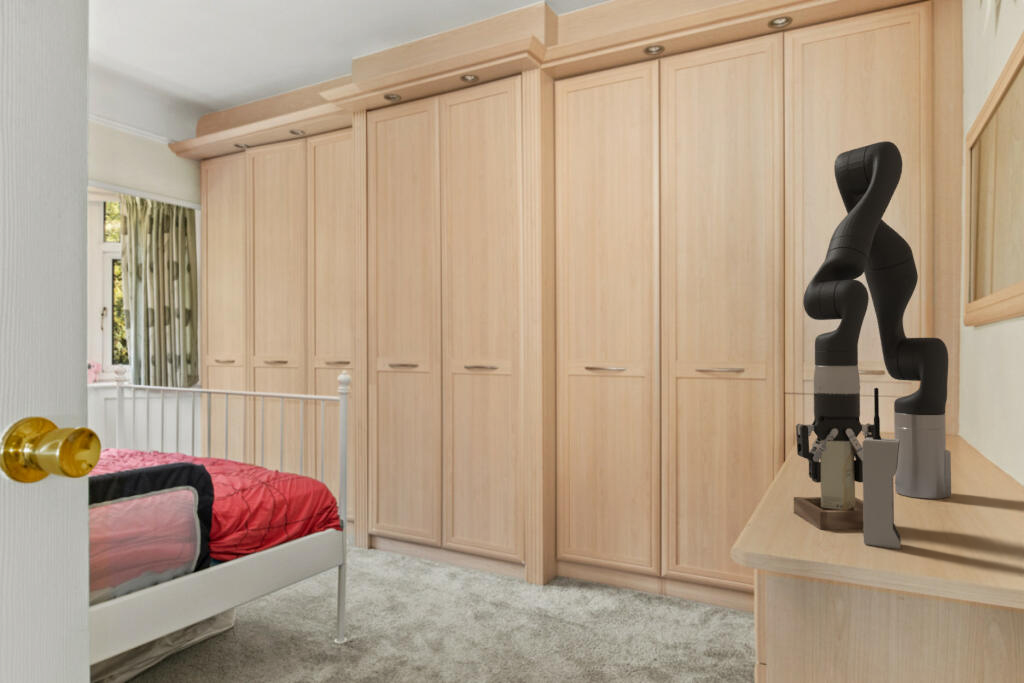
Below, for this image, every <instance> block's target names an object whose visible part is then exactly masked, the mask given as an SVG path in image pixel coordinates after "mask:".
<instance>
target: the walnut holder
mask: <svg viewBox="0 0 1024 683" xmlns="http://www.w3.org/2000/svg"><path fill="white" fill-rule="evenodd" d="M793 514H795V515H796V514H797V517H799V518H802V520H804V521H806V522H808V523H809V524H811V525H812V524H813V525H812V526H814V527H816V528H818V529H819V531H821V530H824V531H825V530H832V531H833V530H834V531H835V530H839V531H840V530H842V531H843V530H848V531H850V530H852V531H853V530H855V531H856V530H858V531H859V530H862V531H864V520H863V500H862V499H860V498H858V497H856V496H855V506H853V507H852V508H850V509H848V510H834V509H828V508H823V507H821V496H793Z"/></svg>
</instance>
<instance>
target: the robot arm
mask: <svg viewBox="0 0 1024 683" xmlns="http://www.w3.org/2000/svg"><path fill="white" fill-rule="evenodd" d="M834 161H835V162H834V166H833V167H834V178H835V182H836V186H837V189H838V191H839V194H840V197H841V200H842V203H843V205H844V208H845V211H846V213H847V214H846V216H844V218H843V219H842V220H841V221H840V222H839V223H838V225H837V226H836V227H835V229H834V231H833V233H832V235H831V238H830V241H829V244H828V248H827V252H826V254H825V259H824V261H823V262H822V264H821V265H820V267H819V268H818V270H817V272H816V273H815V274H814V275H813V277H812V279H811V280H810V281H809V283H808V285H807V286H806V289H805V292H804V295H803V302H802V304H803V309H804V312H805V313H806V315H807V316H808V317H809V318H811V319H813V320H817V321H827V320H829V321H830V320H840V324H839V325H838V327H837V328H836V329H835V330H832V331H829V332H824V333H821V334H819V335H817V336H816V337H815V339H814V372H813V417H814V419H813V422H812V423H810V424H803V423H802V424H801V423H797V424H796V425H795V431H796V451H797V455H798V456H799V457H802V458H804V459H807V460H808V461H807V462H808V476H809V478H810V479H812V480H811V481H812V482H814V483H816V484H817V483H820V484H821V462H820V458H821V456H822V451H826V447H827V445H825V444H827V441H850V443H851V444H852V450H853V451H854V468H855V482H857V483H863V447H862V444H861V443H860V441H859V440H858V436H859V435H860V433H861V432H862V435H863V436H864V439H865V438H866V437H869V438H873V436H874V423H866V424H865V423H864V424H862V423H861V421H860V417H861V396H860V395H861V380H860V373H859V366H858V365H859V357H858V356H859V353H858V351H859V348H858V347H859V340H860V334H861V331H862V330H861V329H862V327H863V322H864V320H865V317H866V313H867V311H868V306H869V302H870V301H869V300H870V297H871V301H872V304H873V309H874V314H875V316H876V322H877V325H878V326H877V328H878V332H879V339H880V345H881V351H882V352H881V353H882V359H883V362H884V363H883V364H884V366H885V369H886V371H887V373H888V375H889V376H890V377H891V378H892V379H894V380H898V381H910V382H912V381H914V382H920V383H919V387H918V389H917V390H916V391H914V392H913V393H911V394H908V395H906V396H901V397H898V398H896V399H895V400H894V403H893V410H894V412H893V416H894V417H893V418H894V422H893V423H894V439H900V442H899V453H898V464H897V470H896V473H895V475H894V477H895V479H894V485H895V486H894V488H895V490H894V491H895V493H897V494H899V495H903V496H906V497H913V498H918V499H919V498H920V499H944V498H952V459H951V458H952V456H951V455H952V453H951V451H950V450H948V449H947V438H946V437H947V436H946V435H947V433H946V432H947V431H946V406H947V400H948V379H949V378H948V376H949V352H948V351H949V350H948V348H947V345H946V343H945V342H944V341H943V340H942V339H941V338H939V337H907V336H906V334H905V328H904V314H905V311H906V310H907V306H908V304H909V302H910V300H911V298H912V296H913V294H914V292H915V289H916V288H917V284H918V279H919V276H918V270H917V266H916V265H917V264H916V262H915V258H914V253H913V250H912V248H911V246H910V244H909V243H908V242H907V241H906V240H905V239H904V237H903V236H901V235H900V233H898V231H896V230H895V229H893V227H891V226H890V225H889V224H887V223H886V222H885V221H884V220H883V217H884V215H885V213H886V211H887V209H888V206H889V205H890V202H891V200H892V199H893V196H894V194H895V192H896V189H897V187H898V186H899V183H900V180H901V178H902V173H903V157H902V155H901V152H900V150H899V147H898V146H897V145H896V144H895V143H893V142H891V141H889V140H887V141H879V142H875V143H871V144H868V145H865V146H861V147H860V146H859V147H858V148H853V149H850V150H847V151H844V152H841V153H839V154H838V155H837V157H836V159H835V160H834ZM863 274H864V277H865V281H866V284H867V287H868V289H867V287H866V286H865V284H863V282H861V281H860V280H858V278H859V277H861V276H862V275H863ZM868 290H869V291H868ZM869 293H870V297H869ZM812 432H814V434H815V435H816V438H815V440H814V441H813V443H812V445H811V448H810V440H809V439H810V436H812ZM820 440H823V442H822V443H821V444H820Z"/></svg>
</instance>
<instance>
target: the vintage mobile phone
mask: <svg viewBox="0 0 1024 683" xmlns="http://www.w3.org/2000/svg"><path fill="white" fill-rule="evenodd" d="M879 393H880V392H879V388H878V387H874V390H873V398H874V400H873V401H874V408H873V409H874V413H873V414H874V416H873V425H874V436H873V438H869V437H866V438H865V437H864V439H863V441H862V444H861V446H862V449H863V482H862V499H863V500H862V501H863V520H864V530H863V543H864V545H866V546H873V547H877V548H878V547H881V548H887V549H893V550H899V549H901V544H902V536H901V534H900V532H899V530H898V529H897V526H896V525H895V512H894V511H895V507H894V506H895V504H894V503H895V501H894V499H895V498H894V491H895V490H894V477H895V473H896V470H897V464H898V453H899V442H900V439H895V438H884V437H883V438H882V436H881V419H880V414H879V413H880V407H879V406H880V405H879V403H880V402H879V397H880V396H879Z"/></svg>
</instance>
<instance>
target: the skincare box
mask: <svg viewBox="0 0 1024 683" xmlns="http://www.w3.org/2000/svg"><path fill="white" fill-rule="evenodd" d="M822 442H823V440H820V444H821V443H822ZM825 445H827V447H826V451H822V456H821V458H820V460H819V462H821V482H820V497H821V507H823V508H828V509H834V510H848V509H850V508H852V507H853V506H855V497H856V481H855V468H854V460H855V457H854V451H853V450H852V444H851V443H850V441H827V444H825Z"/></svg>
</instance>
